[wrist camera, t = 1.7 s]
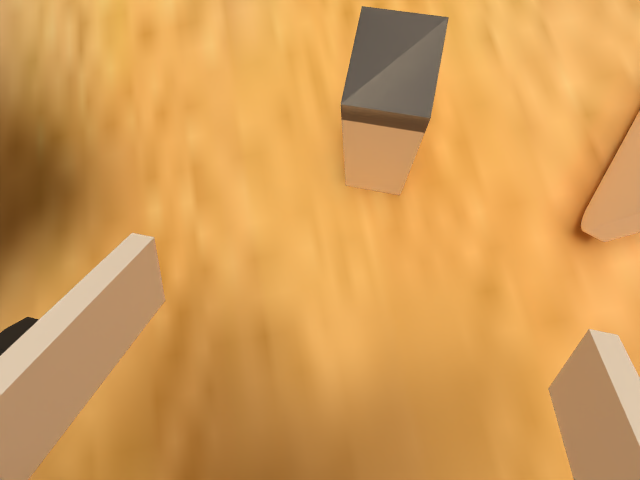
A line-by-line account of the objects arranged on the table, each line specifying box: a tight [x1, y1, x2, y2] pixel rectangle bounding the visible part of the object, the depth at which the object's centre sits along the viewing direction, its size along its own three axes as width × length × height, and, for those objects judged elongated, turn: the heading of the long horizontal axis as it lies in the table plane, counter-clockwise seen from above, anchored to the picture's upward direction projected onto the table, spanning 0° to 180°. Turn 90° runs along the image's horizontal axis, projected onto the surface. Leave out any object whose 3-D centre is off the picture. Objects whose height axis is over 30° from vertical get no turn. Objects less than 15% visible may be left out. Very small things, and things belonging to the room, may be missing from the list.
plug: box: [341, 6, 448, 195], centre depth 25 cm, size 4×5×12 cm
